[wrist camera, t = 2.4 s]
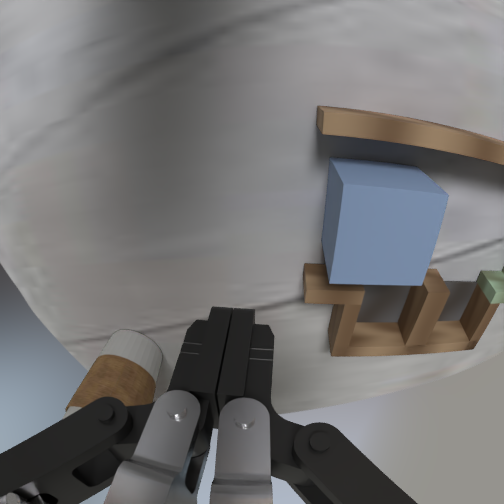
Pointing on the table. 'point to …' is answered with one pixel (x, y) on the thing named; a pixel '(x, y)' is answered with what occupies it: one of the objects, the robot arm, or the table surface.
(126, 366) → the coffee cup
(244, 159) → the table surface
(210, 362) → the robot arm
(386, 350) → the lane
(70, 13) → the table surface
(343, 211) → the block
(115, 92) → the table surface
